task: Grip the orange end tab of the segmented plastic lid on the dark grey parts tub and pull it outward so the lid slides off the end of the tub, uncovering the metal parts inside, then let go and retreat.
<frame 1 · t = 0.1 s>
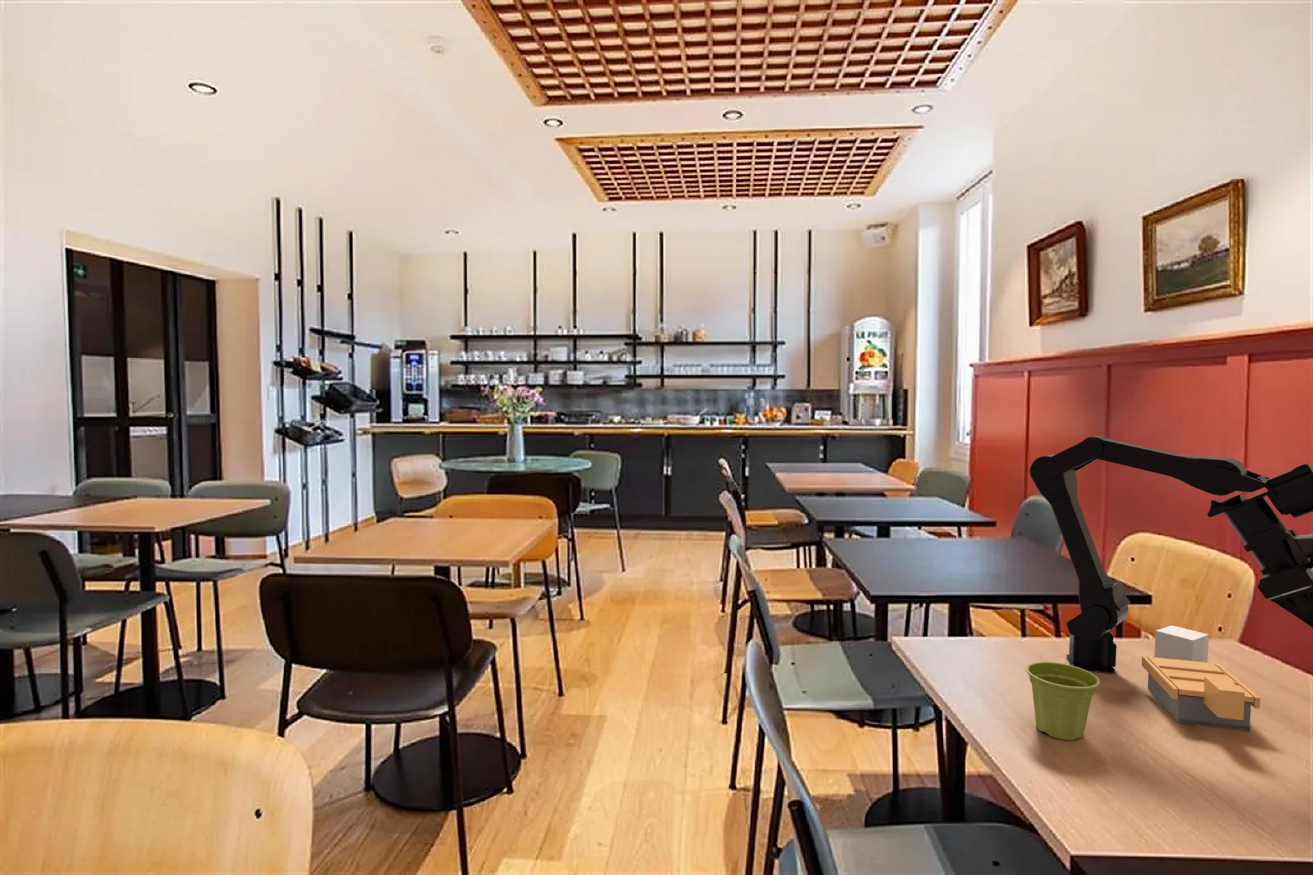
plant pot: (1060, 732, 105), on the table
lid: (1203, 679, 110), point 6 cm above the table, slide at 0.0 cm
tub: (1195, 708, 112), on the table
white cube: (1180, 665, 131), on the table
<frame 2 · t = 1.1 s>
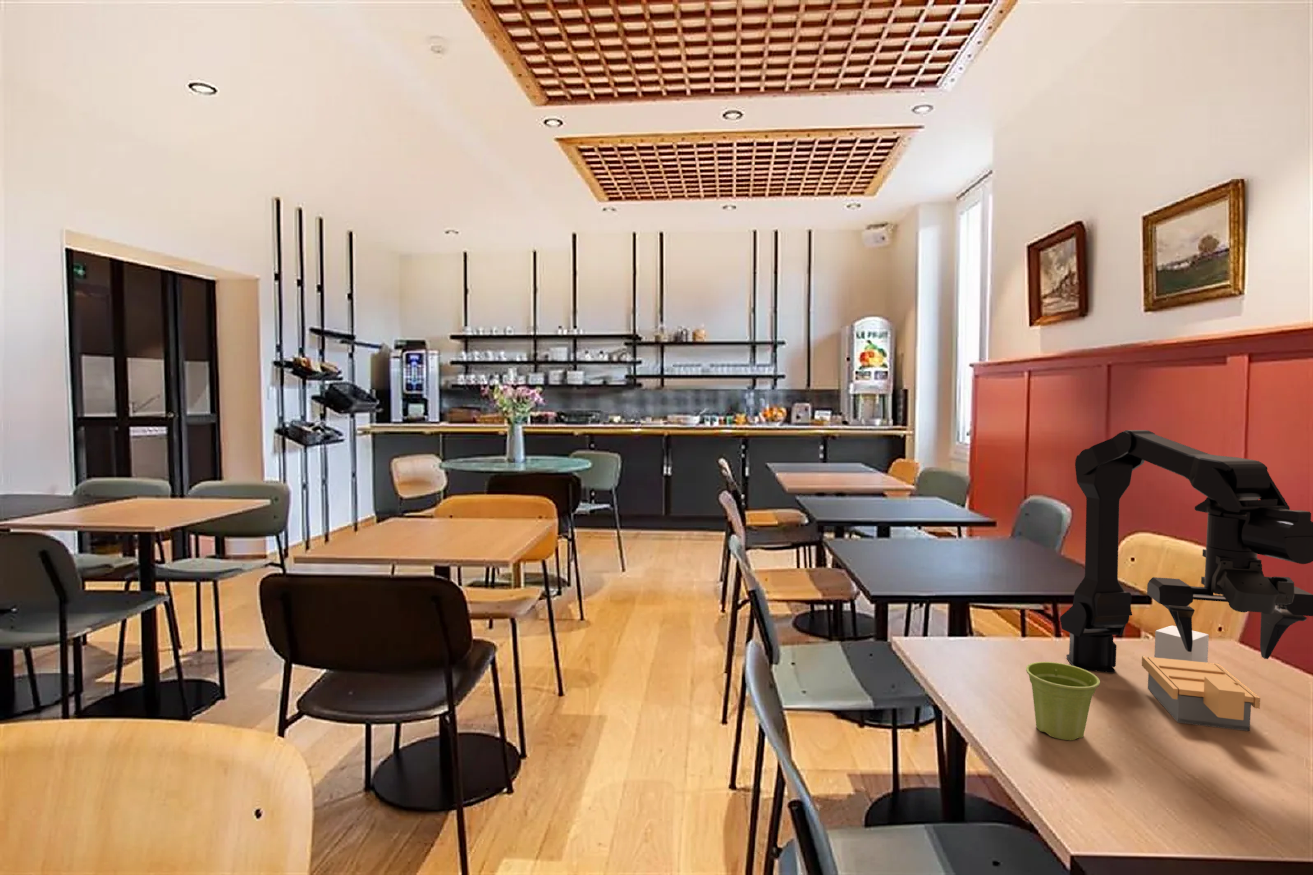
hand: (1226, 654, 103), 12 cm above the table, tool pointing down, fingers open, 9 cm apart
nothing on the table moved.
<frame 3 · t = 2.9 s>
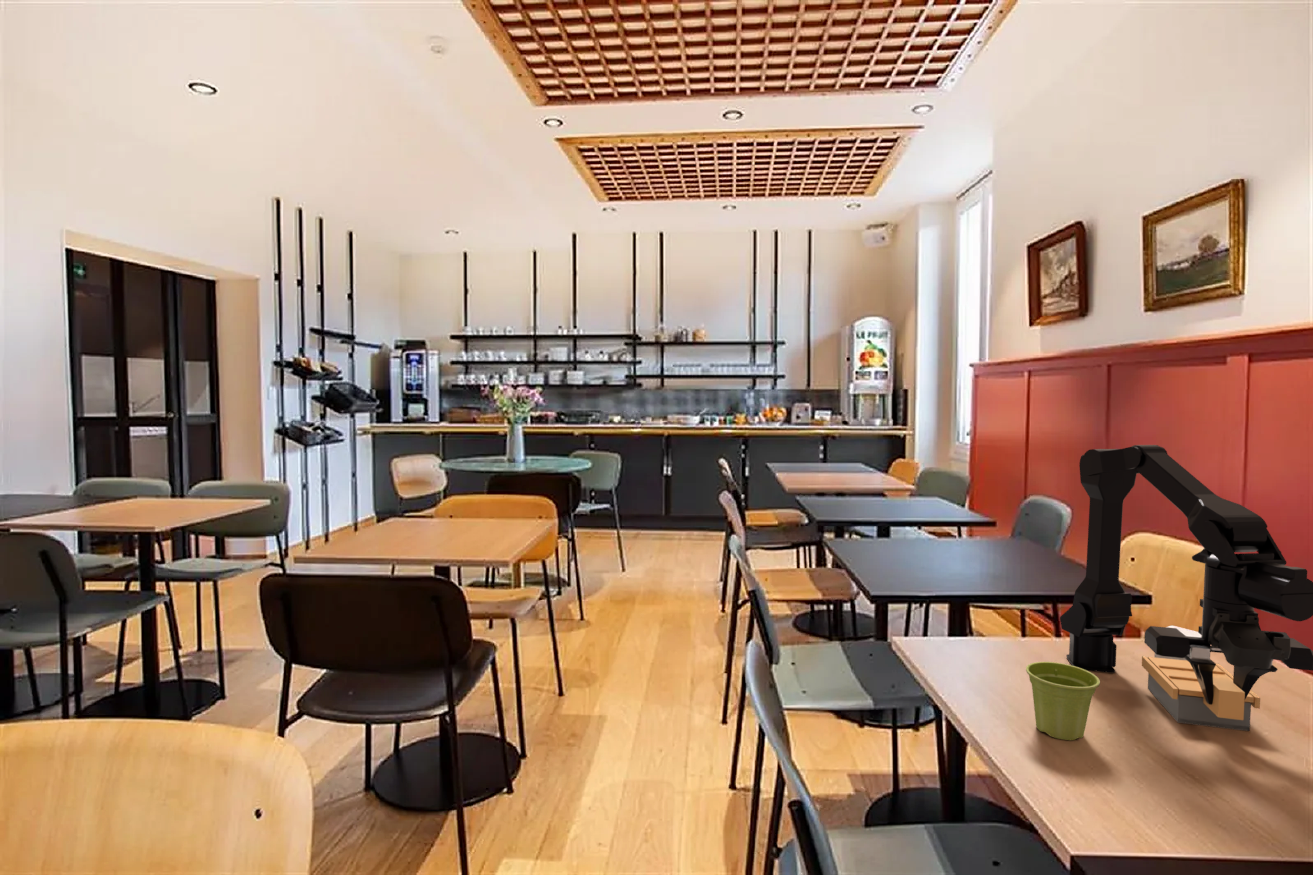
hand: (1223, 705, 103), 5 cm above the table, tool pointing down, fingers closed on lid, 3 cm apart
lid: (1203, 679, 110), point 6 cm above the table, slide at 0.0 cm, touching gripper
everything else where it was.
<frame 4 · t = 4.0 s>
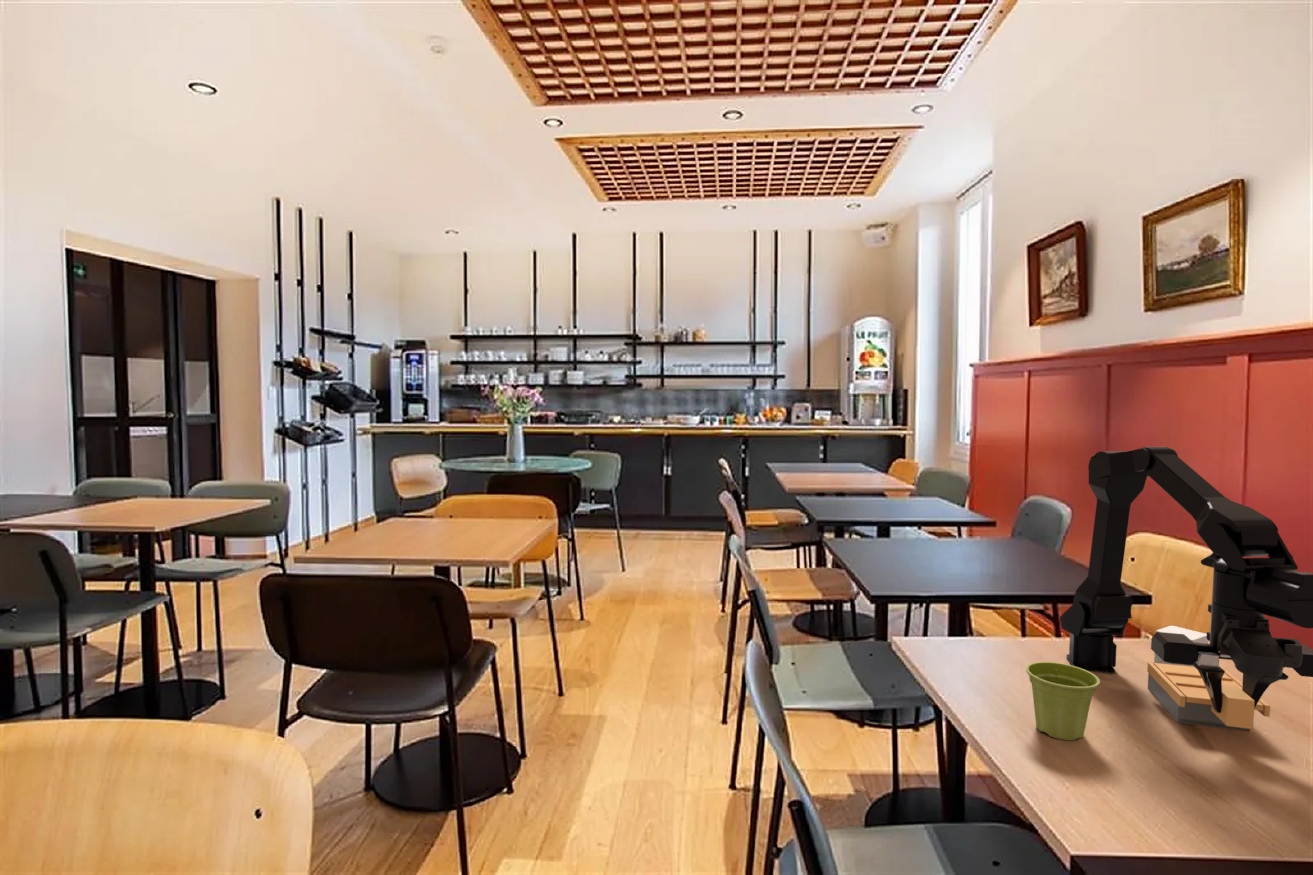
hand: (1231, 713, 101), 5 cm above the table, tool pointing down, fingers closed on lid, 3 cm apart
lid: (1211, 686, 107), point 6 cm above the table, slide at 2.8 cm, touching gripper
everything else where it was.
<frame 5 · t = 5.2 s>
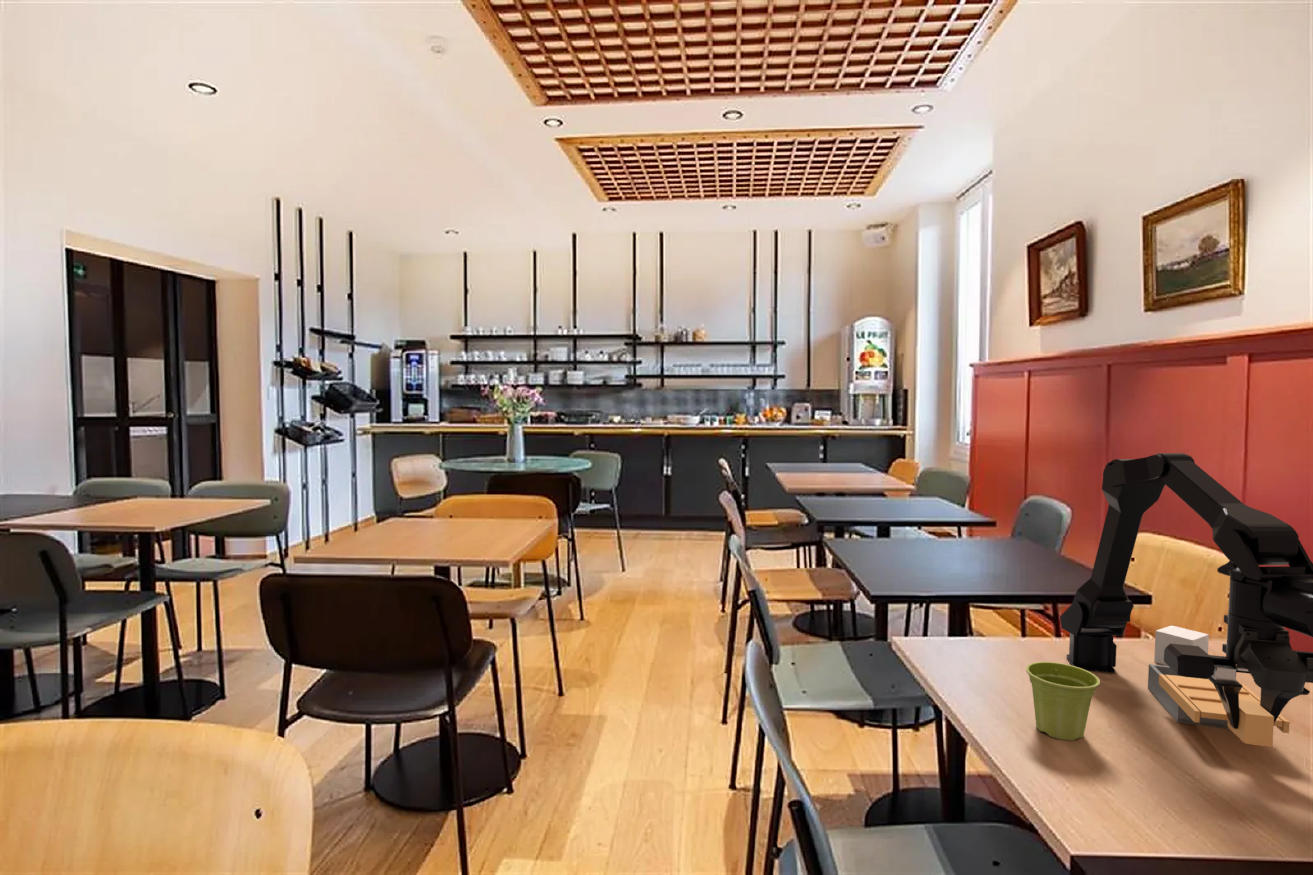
hand: (1249, 729, 96), 5 cm above the table, tool pointing down, fingers closed on lid, 3 cm apart
lid: (1226, 700, 102), point 6 cm above the table, slide at 7.9 cm, touching gripper
everything else where it was.
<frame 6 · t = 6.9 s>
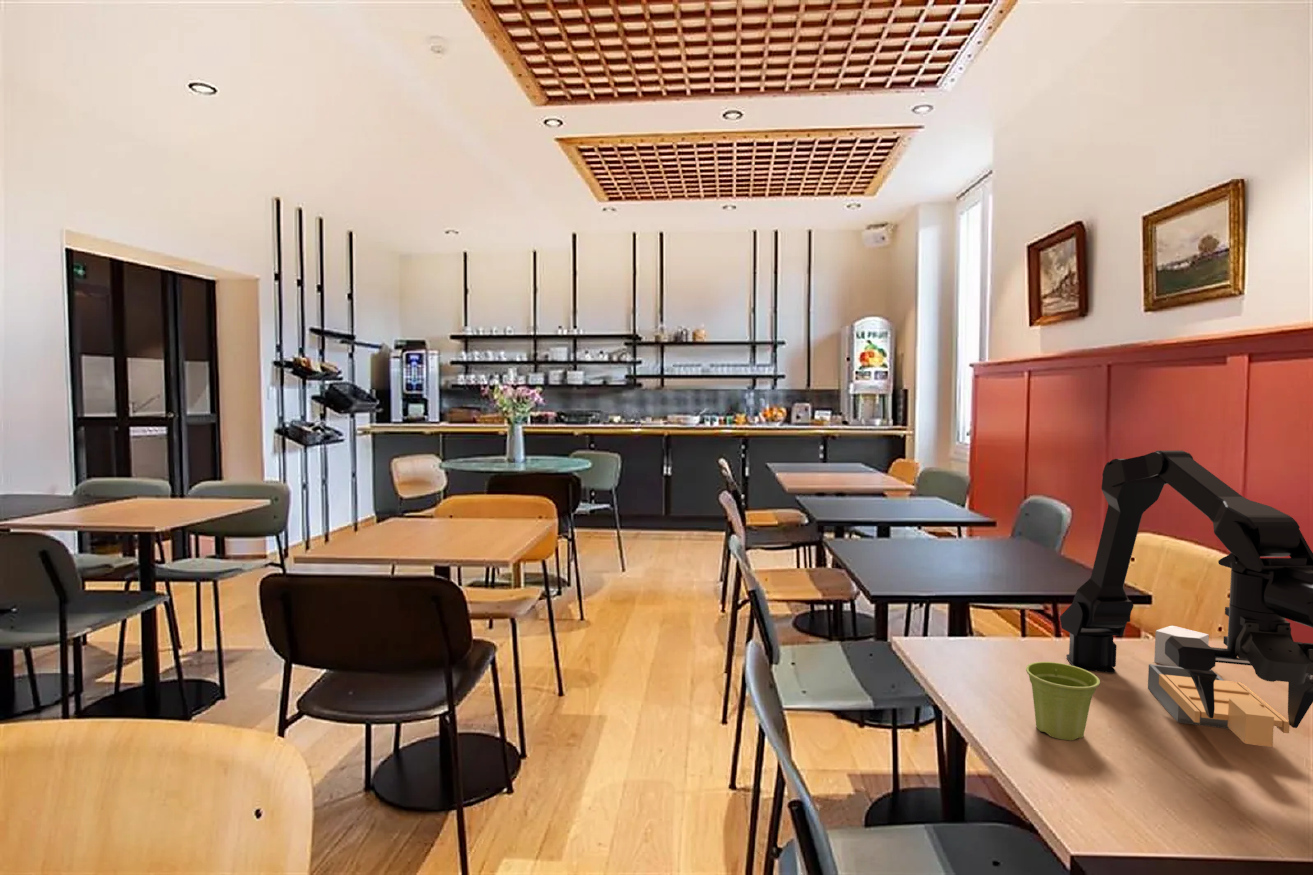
hand: (1250, 721, 95), 6 cm above the table, tool pointing down, fingers open, 9 cm apart
lid: (1226, 701, 102), point 6 cm above the table, slide at 8.0 cm
everything else where it was.
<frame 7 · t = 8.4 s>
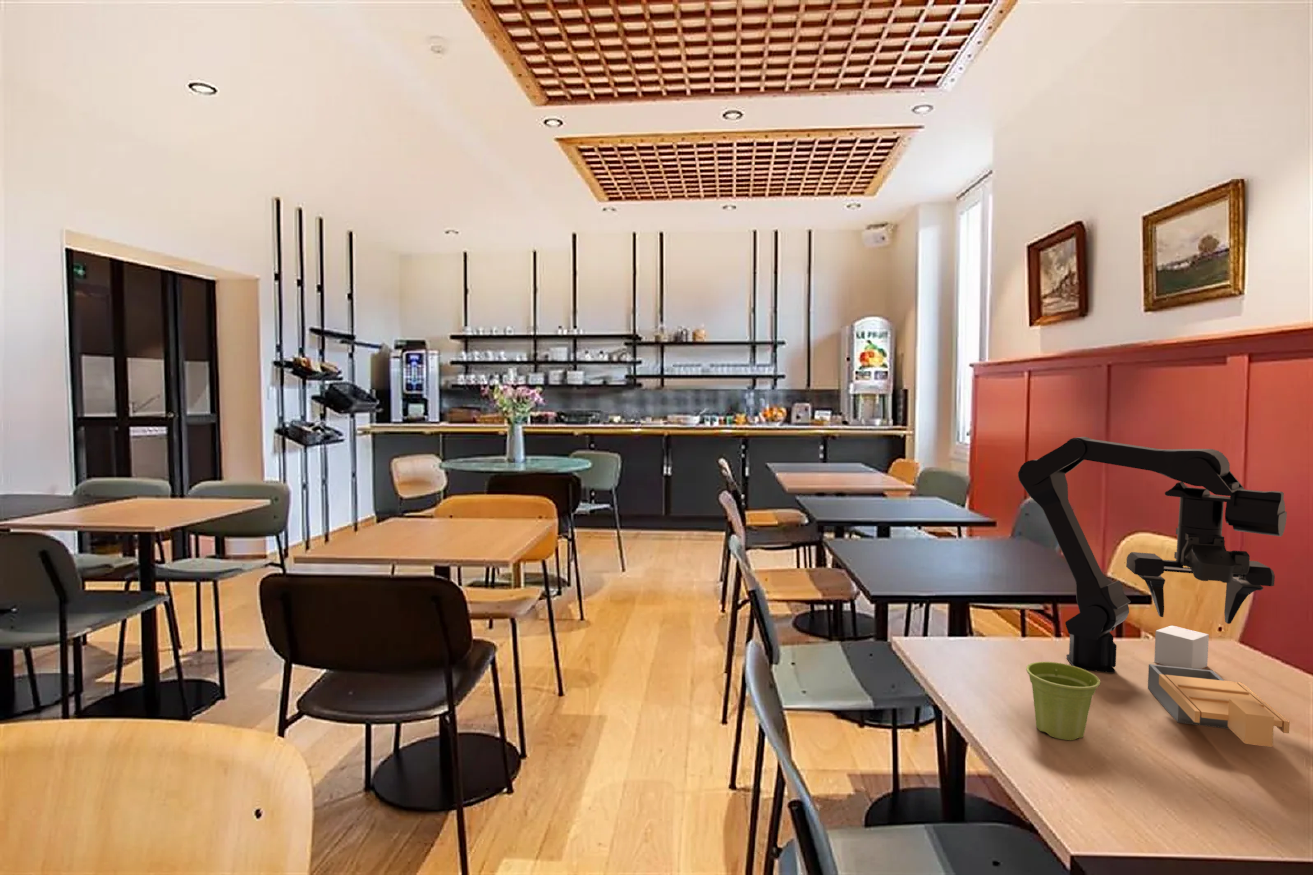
hand: (1193, 619, 118), 12 cm above the table, tool pointing down, fingers open, 9 cm apart
nothing on the table moved.
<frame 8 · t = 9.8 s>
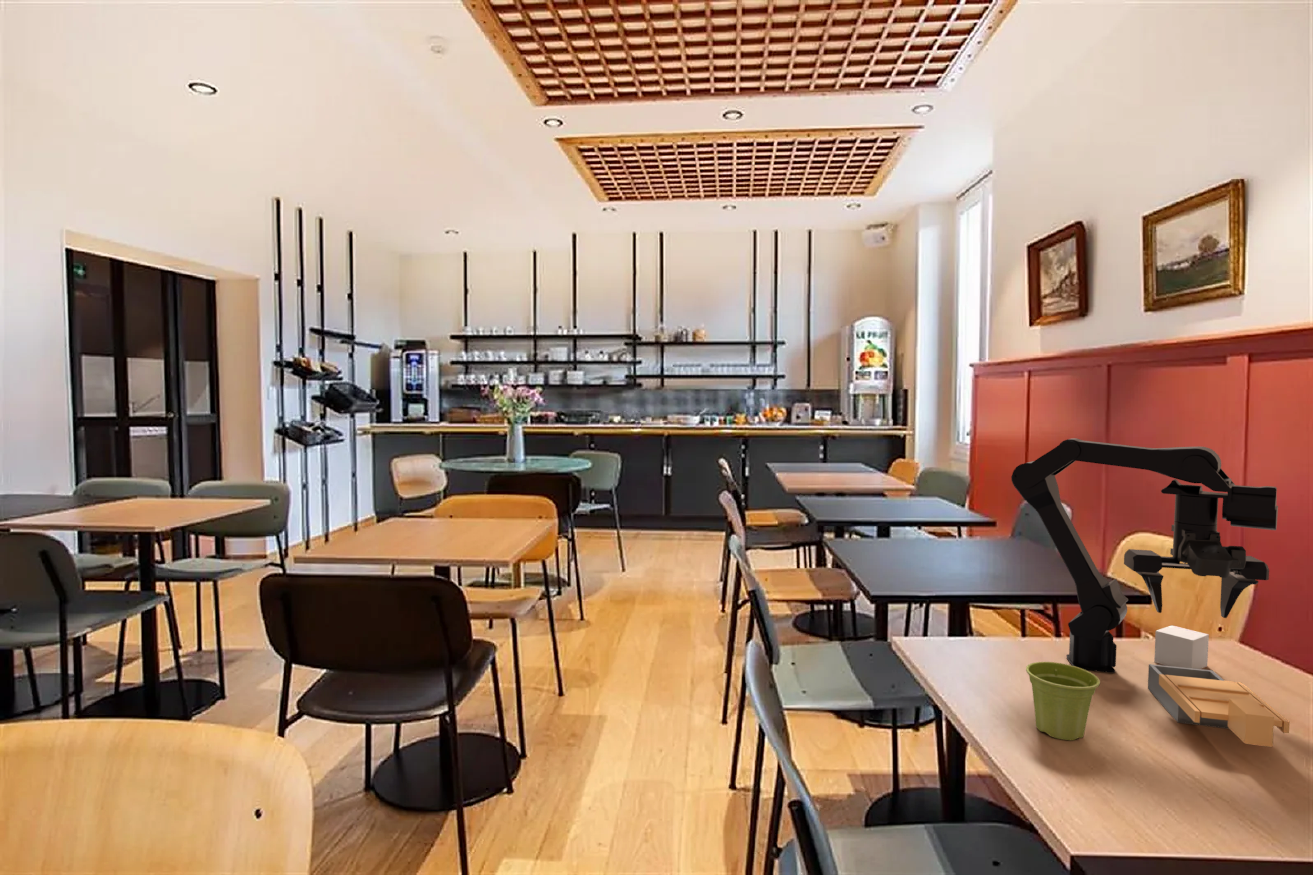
hand: (1191, 614, 119), 13 cm above the table, tool pointing down, fingers open, 9 cm apart
nothing on the table moved.
at the end: lid slide at 8.0 cm; the gripper is holding nothing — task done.
